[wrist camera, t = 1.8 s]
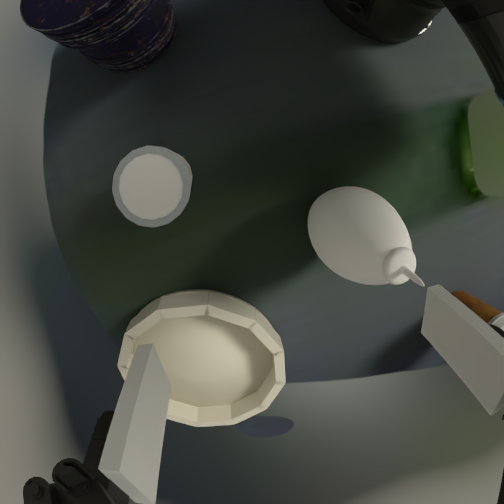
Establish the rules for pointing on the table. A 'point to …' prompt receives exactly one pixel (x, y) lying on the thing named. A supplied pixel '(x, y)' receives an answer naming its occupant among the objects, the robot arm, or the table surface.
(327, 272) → the table surface
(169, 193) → the shot glass
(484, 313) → the disposable coffee cup
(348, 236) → the sauce bottle
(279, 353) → the cream bowl
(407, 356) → the table surface
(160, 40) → the storage jar
